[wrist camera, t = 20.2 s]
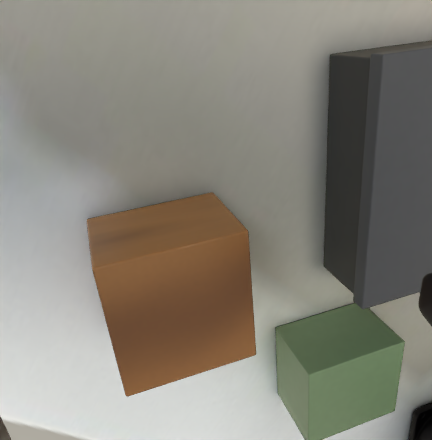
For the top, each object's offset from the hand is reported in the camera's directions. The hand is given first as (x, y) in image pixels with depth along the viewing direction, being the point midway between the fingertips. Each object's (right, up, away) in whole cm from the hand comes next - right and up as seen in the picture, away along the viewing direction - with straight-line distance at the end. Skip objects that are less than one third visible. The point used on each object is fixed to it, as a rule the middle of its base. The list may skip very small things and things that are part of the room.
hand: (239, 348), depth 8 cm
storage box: (+11, +6, +15) cm, 19 cm away
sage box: (+6, -6, +19) cm, 20 cm away
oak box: (-3, 0, +12) cm, 13 cm away
